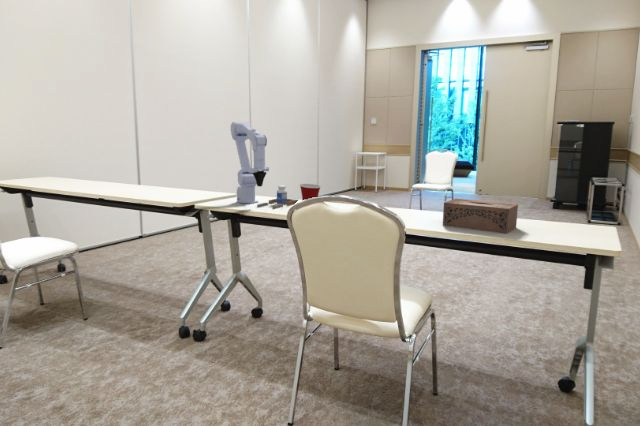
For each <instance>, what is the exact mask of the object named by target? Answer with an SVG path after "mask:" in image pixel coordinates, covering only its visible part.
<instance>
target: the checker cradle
mask: <svg viewBox="0 0 640 426" xmlns="http://www.w3.org/2000/svg"><path fill="white" fill-rule="evenodd" d="M256 206H257V208H262V207H266V206H269V202H262V203H258V204H257V205H256ZM283 207H284V205H283V204H275V205H272V209H274V210H275V209H278V208H283Z"/></svg>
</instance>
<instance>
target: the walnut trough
mask: <svg viewBox="0 0 640 426" xmlns="http://www.w3.org/2000/svg"><path fill="white" fill-rule="evenodd" d="M298 200H299V199H296V198H295V199H293V198H287V204H286V206H292V205H295V204H294V203H296V202H297V201H298ZM272 204H277V198H273V199H268V205H272Z"/></svg>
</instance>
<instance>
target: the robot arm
mask: <svg viewBox="0 0 640 426" xmlns="http://www.w3.org/2000/svg"><path fill="white" fill-rule="evenodd" d="M230 135H231V138H232V139H233V140H234V141H235V146H236V151H237V154H238V159H239V164H240V168H241V169H239V170H238V172H237V182H238V186H237V188H236V201H235V203H241V204H249V205H250V204H255V203H259V200H256V187H263V184H264V179H265V177H266V175H267V172H270V167H269V166H267V167H266V146H267V145H268V139H267V136H266V135H265V134H261V133H260V132H258V131H257V129H255V128H253V129H252V125H251V123H250V122H241V121H239V122H238V121H237V122H236V121H232V123H231V124H230ZM247 140H249V141H250V143H251V147H252V148H251V149H252V152H253V167H251V164H250V159H249V155H248V149H247V144H246V141H247Z"/></svg>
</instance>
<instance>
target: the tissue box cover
mask: <svg viewBox="0 0 640 426" xmlns="http://www.w3.org/2000/svg"><path fill="white" fill-rule="evenodd" d="M518 209H519V204H518V203H511V202H510V203H507V202H496V201H488V200H487V201H486V200H474V199H465V198H454V199H450V200H448V201H444V202H443V211H442V212H443V213H442V215H443V216H442V226H443V225H445V227H453V228H460V229H466V230H467V229H468V230H475V231H483V232H491V233H499V234H504V235H505V234H506V235H508V234H509V233H510V232H512V231H514V230H515V229H516V228H517V223H518V222H517V220H518Z"/></svg>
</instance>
